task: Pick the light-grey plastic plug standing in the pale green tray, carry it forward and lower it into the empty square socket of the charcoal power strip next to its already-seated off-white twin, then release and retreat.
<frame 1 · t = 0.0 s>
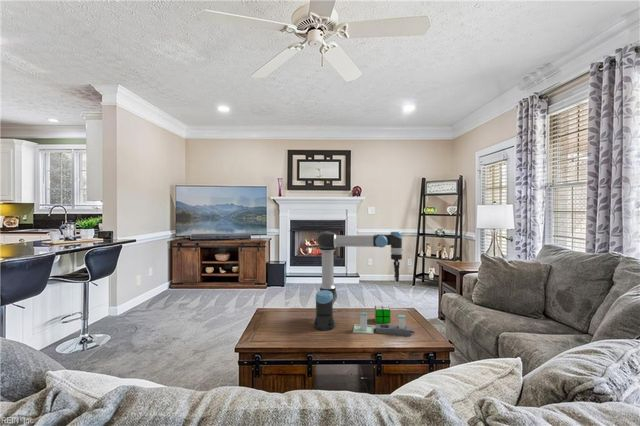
hand: (396, 284, 209), 28 cm above the table, fingers open, 13 cm apart
puzzle cube: (382, 321, 216), on the table
plug: (363, 329, 199), resting on tray
tray: (363, 330, 199), on the table
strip: (393, 332, 195), on the table
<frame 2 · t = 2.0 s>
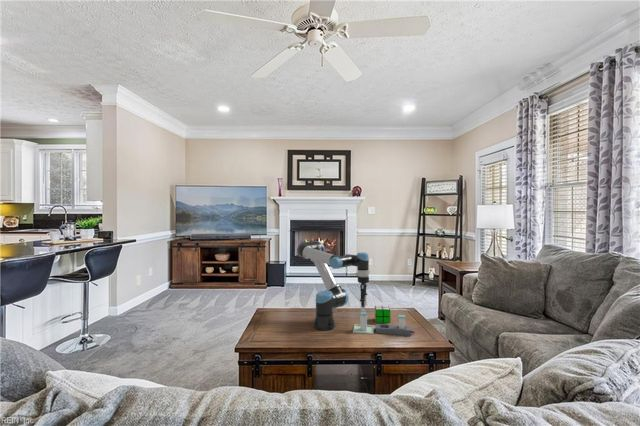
hand: (363, 308, 199), 15 cm above the table, fingers open, 13 cm apart
nothing on the table moved.
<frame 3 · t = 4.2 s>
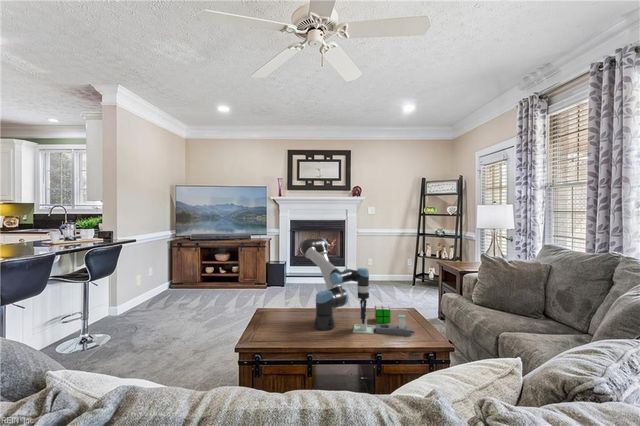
hand: (363, 327, 199), 2 cm above the table, fingers closed on plug, 4 cm apart
plug: (363, 329, 199), point 1 cm above the table, touching gripper, tray
everything else where it was.
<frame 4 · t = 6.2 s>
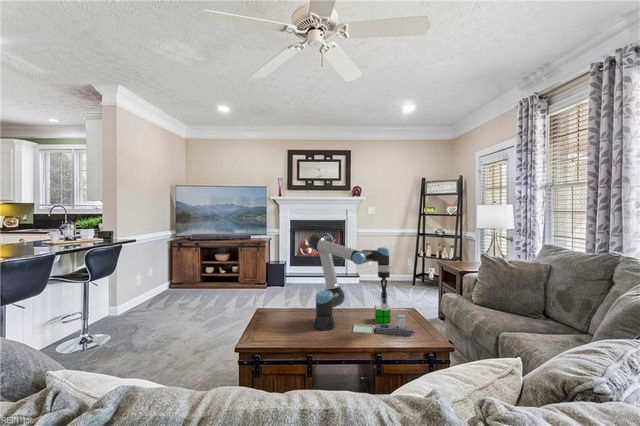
hand: (384, 306, 196), 16 cm above the table, fingers closed on plug, 4 cm apart
plug: (384, 309, 196), point 15 cm above the table, touching gripper
everything else where it was.
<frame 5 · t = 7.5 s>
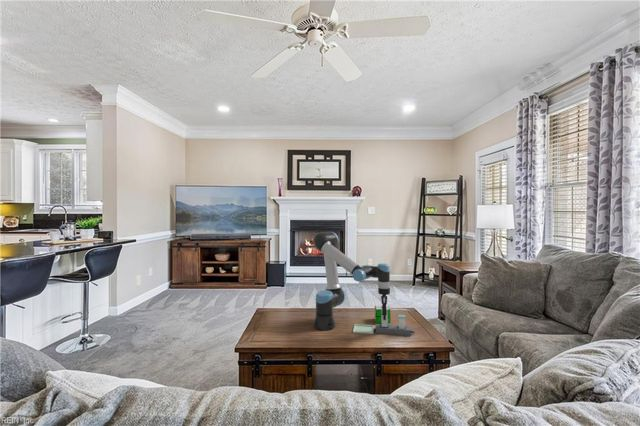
hand: (384, 323, 196), 5 cm above the table, fingers closed on plug, 4 cm apart
plug: (384, 325, 196), point 4 cm above the table, touching gripper
everything else where it was.
when the fingers open (4 cm above the table, at t = 8.3 s): plug drops 2 cm, resting on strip.
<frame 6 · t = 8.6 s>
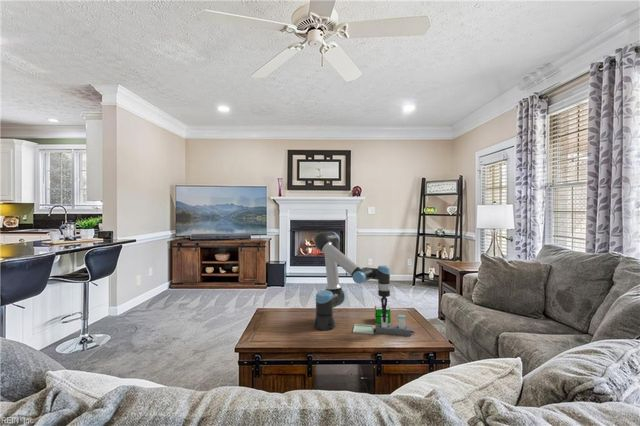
hand: (384, 324, 196), 5 cm above the table, fingers open, 7 cm apart
plug: (384, 331, 196), resting on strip
everything else where it was.
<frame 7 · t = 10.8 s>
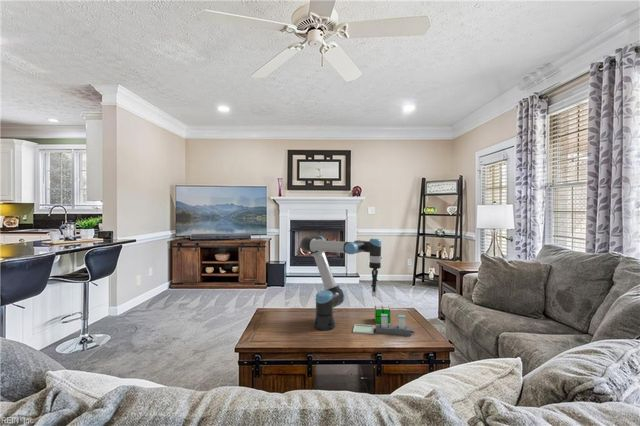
hand: (374, 293, 201), 24 cm above the table, fingers open, 13 cm apart
nothing on the table moved.
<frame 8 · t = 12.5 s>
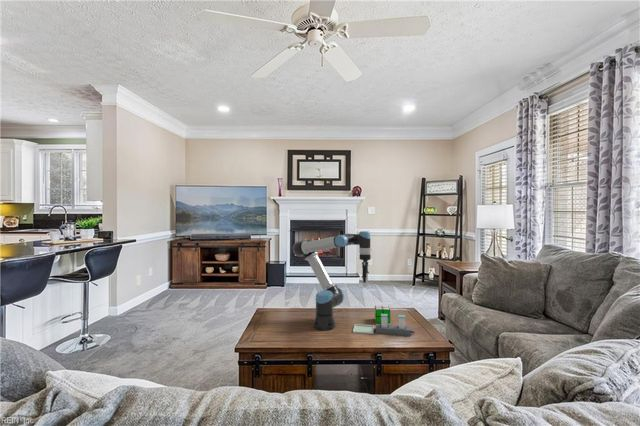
hand: (365, 284, 205), 29 cm above the table, fingers open, 13 cm apart
nothing on the table moved.
at the end: plug 0.0 cm from the target spot on the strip, point 0.2 cm above the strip's base; plug tilted 0°; the gripper is holding nothing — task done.
